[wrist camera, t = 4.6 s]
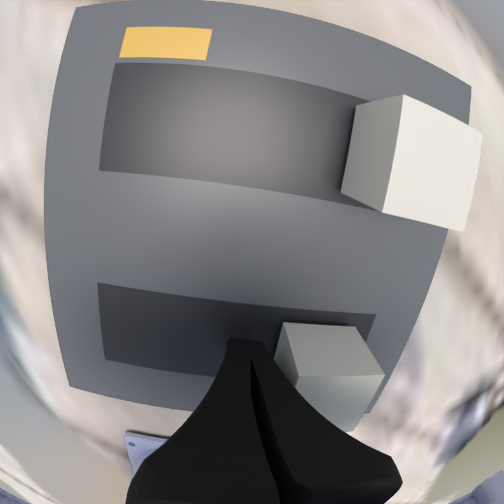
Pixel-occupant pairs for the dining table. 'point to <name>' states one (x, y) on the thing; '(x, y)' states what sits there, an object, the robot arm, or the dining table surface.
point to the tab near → (412, 161)
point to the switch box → (221, 192)
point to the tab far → (330, 370)
